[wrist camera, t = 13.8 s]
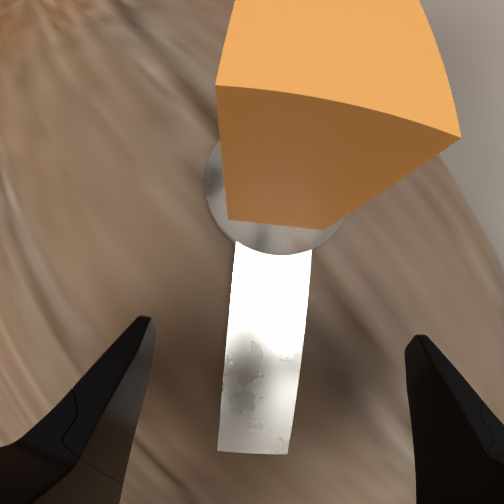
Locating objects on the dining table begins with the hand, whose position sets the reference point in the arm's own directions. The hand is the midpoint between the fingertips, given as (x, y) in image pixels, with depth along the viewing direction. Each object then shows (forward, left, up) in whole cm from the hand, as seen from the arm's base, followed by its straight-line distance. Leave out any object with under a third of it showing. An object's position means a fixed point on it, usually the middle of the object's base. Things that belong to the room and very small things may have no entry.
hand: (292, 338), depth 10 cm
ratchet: (+2, +1, -9) cm, 10 cm away
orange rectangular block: (+7, +3, -8) cm, 11 cm away
